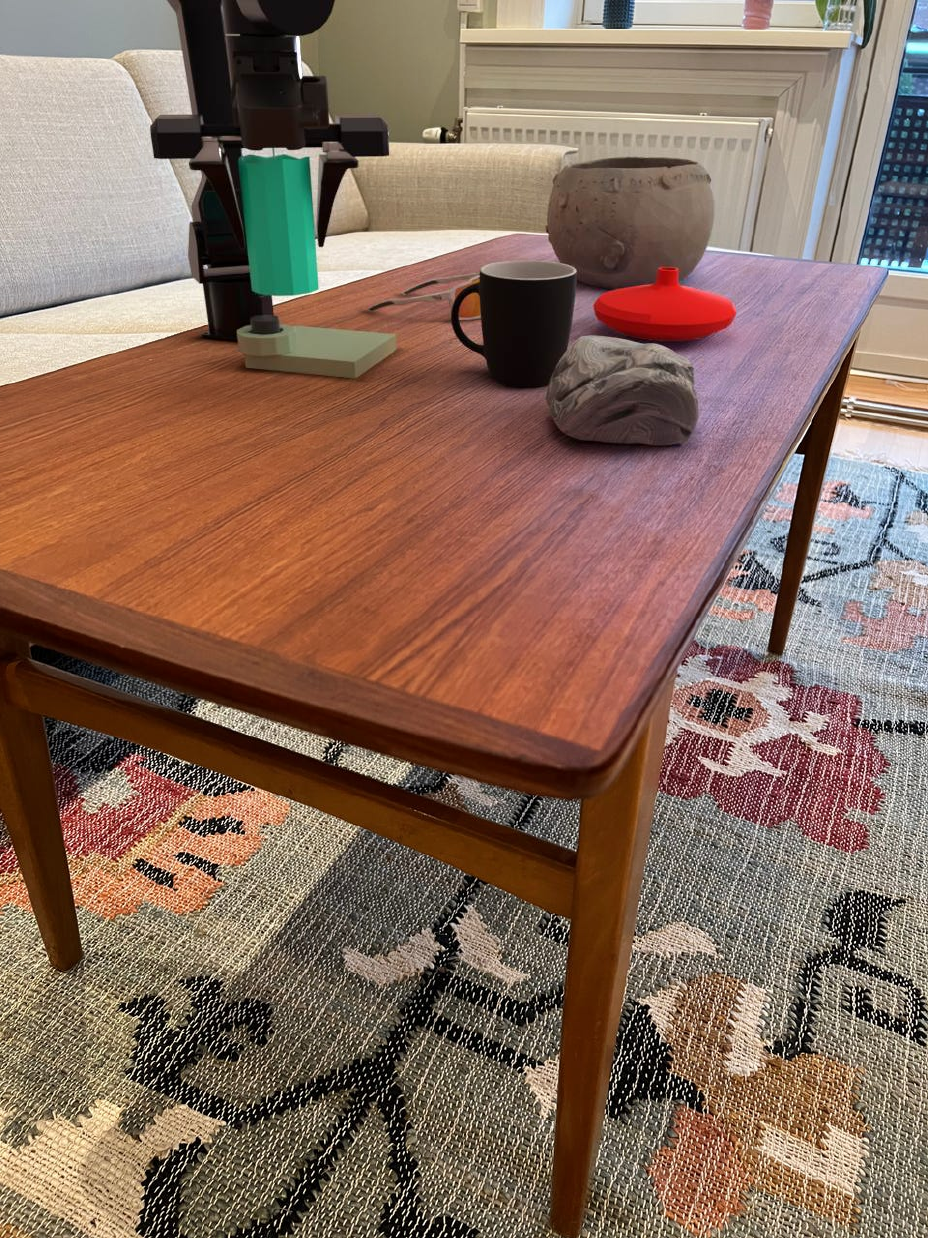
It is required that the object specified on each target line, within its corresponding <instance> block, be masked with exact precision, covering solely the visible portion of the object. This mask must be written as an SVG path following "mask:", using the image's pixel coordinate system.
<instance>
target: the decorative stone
mask: <svg viewBox="0 0 928 1238" xmlns="http://www.w3.org/2000/svg"><path fill="white" fill-rule="evenodd" d="M694 369H695V368H694V366H693V364H692V362H691V361H689V359H687V358H686V357H684V356H682V355H680V354H678V353H676V352H675V351H673V350H672V349H670V348H668V347H666V346H664V345H661V344H659V343H640V342H638V341H637V342H636V341H633V340H629V339H624V338H618V337H612V336H606V335H605V336H604V335H591V334H589V335H582V336H580V337H579V338H577V339H576V340H575V341H574V342H573V343H572V344H571V345H570V346H568V347H567V351H566V352H565V353H564V355H563V356H562V357H561V359H560V360H559V362H558V364H557V366H556V368H555V370H554V372H553V374H552V376H551V380H550V383H549V384H548V385H547V392H546V395H545V401H546V404H547V406H548V410H549V413H550V416H551V419H552V420H553V421H554V423H555V425H556V426H557V428H558V429H559V431H561V432H562V433H563V434H565V435H566V436H569V437H572V438H573V439H576V440H579V441H585V442H586V441H588V442H589V441H592V442H600V443H605V444H606V443H607V444H609V443H610V444H630V445H634V444H643V445H648V446H670V445H677V444H679V445H683V444H685V443H687V442H689V439H690V438H691V435H692V433H693V432H694V431H695V430H696V426H697V424H698V421H699V411H700V410H699V403H698V398H697V394H696V390H695V371H694Z"/></svg>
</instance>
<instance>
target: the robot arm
mask: <svg viewBox="0 0 928 1238" xmlns="http://www.w3.org/2000/svg"><path fill="white" fill-rule="evenodd" d="M166 1H167V3H168V4H169V5H170V7H171V8H172V9H173V12H174V13H175V16H176V17H175V18H176V22H177V28H178V34H179V41H180V46H181V47H180V48H181V52H182V59H183V65H184V73H185V79H186V84H187V90H188V98H189V103H190V109H191V114H159V115H158V116H157V117H156V118H155V119H154V120H153V122H152V123H151V124H150V126H149V133H150V140H151V147H152V148H151V149H152V154H153V159H157V160H188V159H189V162H188V167H189V170H190V171H201V179H200V182H199V185H198V187H197V189H196V192H195V195H194V197H193V201H192V203H191V214H192V215H191V216H192V221H189V225H188V226H189V227H188V246H187V247H188V248H187V259H188V264H189V269H190V273H191V277H192V278H193V279H194V280H195V281H196V282H197V283H198V284H199V285H202V290H203V291H202V292H203V299H204V304H205V312H206V318H207V319H206V320H207V326H208V329H207V330H205V331H203V332H201V333H200V334H201V338H202V339H209V340H221V341H230V342H238V339H237V330H238V329H240V328H242V327H245V326H249V325H251V320H250V319H251V318H252V317H254V316H259V315H274V316H275V314H274V304H273V296H272V295H263V294H259V293H256V292H254V291H252V286H251V277H250V268H249V258H248V249H247V240H246V230H245V221H244V212H243V202H242V193H241V184H240V174H239V165H238V159H239V157H243V156H244V153H243V152H244V151H243V149H246V150H248V151H254V152H256V151H263V149H272V148H274V149H286V150H287V151H298V150H302V149H317V148H318V149H319V148H320V150H321V151H322V153H323V154H318V165H317V166H318V169H317V170H318V171H317V172H318V173H317V199H316V200H317V201H316V237H317V246H318V248H324V245H325V241H326V237H327V232H328V229H329V224H330V220H331V215H332V211H333V208H334V203H335V199H336V197H337V194H338V191H339V188H340V185H341V183H342V182H343V181H342V180H343V178H344V176H346V175H345V174H346V173H347V171H348V170H350V169H358V168H359V167H360V166H359V165H360V163H359V162H360V161H359V160H358V159H357V158H367V157H368V158H369V157H370V158H371V157H374V158H375V157H379V158H380V157H381V158H382V157H389V156H390V133H389V127H388V124H387V123H386V121H384V119H383V118H382V117H380V116H379V115H377V114H375V113H335V114H334V123H333V122H332V123H331V122H330V106H329V92H328V91H329V89H328V82H327V81H328V80H327V76H325V75H303V62H302V49H301V37H304V36H306V35H307V36H308V35H311V34H313V33H315V32H317V31H318V30H320V29H321V28H322V27H323V26H324V25H325V24H326V23H327V22H328V20H329V19H330V16H331V15H332V12H333V9H334V6H335V2H336V0H166ZM204 266H207V267H206V268H204Z"/></svg>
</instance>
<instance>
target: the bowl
mask: <svg viewBox="0 0 928 1238" xmlns="http://www.w3.org/2000/svg"><path fill="white" fill-rule="evenodd" d="M552 184H553V185H552V188H551V192H550V196H549V200H548V205H547V213H546V223H547V225H545V226H544V229H545V233H547V235H548V242H549V243H550V244H551V247H552V250H553V252H554V253H555V256H556V257H557V259H558V261H559V263H562V264H566V265H569V266H572V267H574V268H575V269H576V271H577V281H579V282H581V283H582V284H584V285H588V286H592V287H598V288H606V289H621V288H628V287H634V286H641V285H650V284H654V283H656V280H657V274H658V268H660V267H674V268H678V269H679V272H678V283H681V282H683V281H684V280H685V279H686V278H687V277H688V276H690V275H691V274H692V273H693V272H694V270H695V269H696V268H697V266H698V265H699V263H700V262H701V260H702V259H703V257H704V255H705V253H706V250H707V248H708V245H709V242H710V240H711V236H712V233H713V228H714V222H715V219H716V218H715V217H716V200H715V198H716V197H715V192H714V190H713V186H712V178H711V175H710V173H708V171H707V169H706V168H705V166H703V164H702V163H701V162H698V161H696V160H692V159H686V158H680V157H679V158H678V157H663V156H661V157H660V156H658V157H657V156H656V157H654V156H653V157H651V156H650V157H644V156H619V157H617V156H616V157H606V158H599V159H593V160H588V161H582V162H574V163H569V164H567V165H565V166H564V167H563V168H562V169H561V170H560V171H559V172H558V173H556V174H555V176H554V177H553V178H552Z"/></svg>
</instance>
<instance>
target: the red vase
mask: <svg viewBox="0 0 928 1238" xmlns="http://www.w3.org/2000/svg"><path fill="white" fill-rule="evenodd" d="M678 272H679V269H678V268H674V267H660V268H658V274H657V280H656V283H654V284H650V285H641V286H634V287H628V288H621V289H620V288H615V289H613V290H608V291H605V292H604V293H602V294H600V295H599V297H598V298H596V300H595V301H594V303H593V305H592V308H593V313H594V315H595V318H596V319H597V321H599V322H600V323H602V324H604V325H605V326H607V327H609V328H610V329H612V330H614V331H615V332H617V333H619V334H621V335H624V336H627V337H630V338H631V337H632V338H635V339H641V340H647V341H656V342H657V341H658V342H682V341H684V342H685V341H693V340H700V339H702V338H703V339H704V338H706V337H708V336H711V335H713V334H715V333H718V332H720V331H722V330H725V329H727V328H728V327H730V326H731V325H732V324H733V322H734V320H735V318H736V316H737V308H736V307H735V305H734V303H733V301H731V300H730V299H729V298H728V297H725V296H723V295H721V294H717V293H713V292H710V291H707V290H704V289H703V290H702V289H698V288H695V287H691V286H686V285H681V284H680V283H679V282H678Z"/></svg>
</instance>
